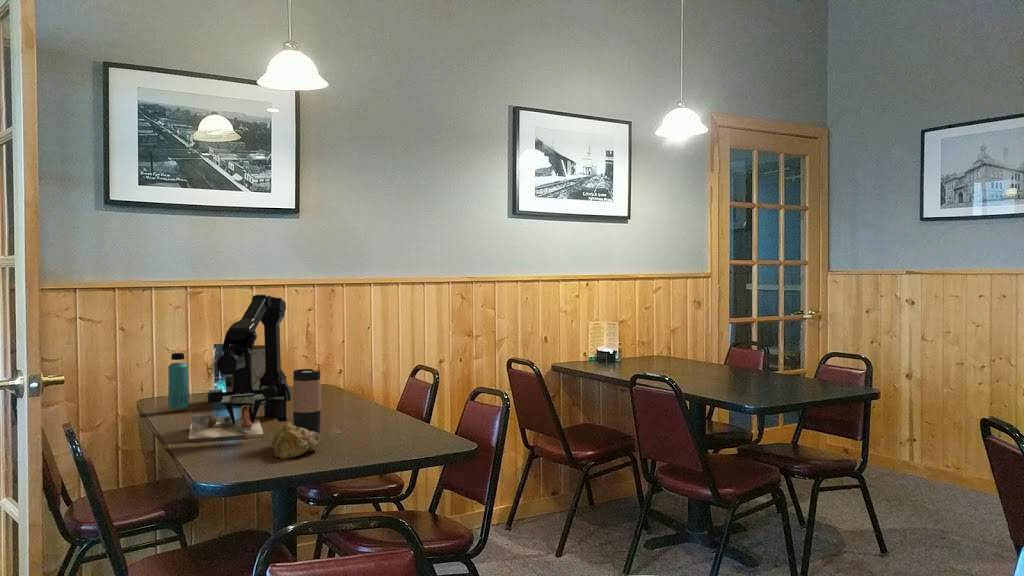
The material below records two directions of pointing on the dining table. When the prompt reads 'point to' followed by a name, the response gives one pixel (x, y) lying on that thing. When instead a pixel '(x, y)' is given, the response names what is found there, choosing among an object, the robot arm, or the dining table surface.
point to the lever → (245, 419)
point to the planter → (257, 373)
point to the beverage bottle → (178, 383)
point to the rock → (294, 441)
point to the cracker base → (218, 429)
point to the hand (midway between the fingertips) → (243, 423)
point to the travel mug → (307, 399)
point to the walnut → (212, 420)
